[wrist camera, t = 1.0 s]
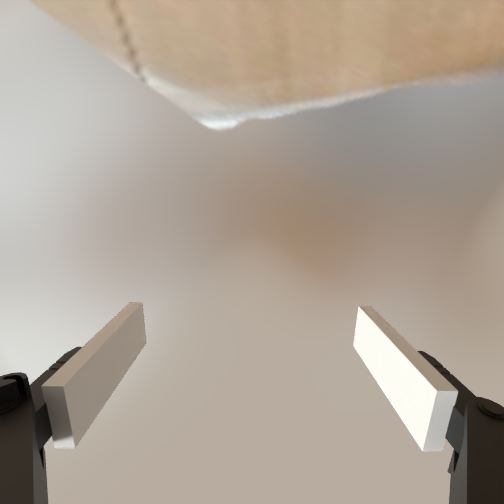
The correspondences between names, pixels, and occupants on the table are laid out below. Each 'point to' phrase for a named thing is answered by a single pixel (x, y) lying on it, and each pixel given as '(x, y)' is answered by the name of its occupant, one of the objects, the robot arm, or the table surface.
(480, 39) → the table surface
